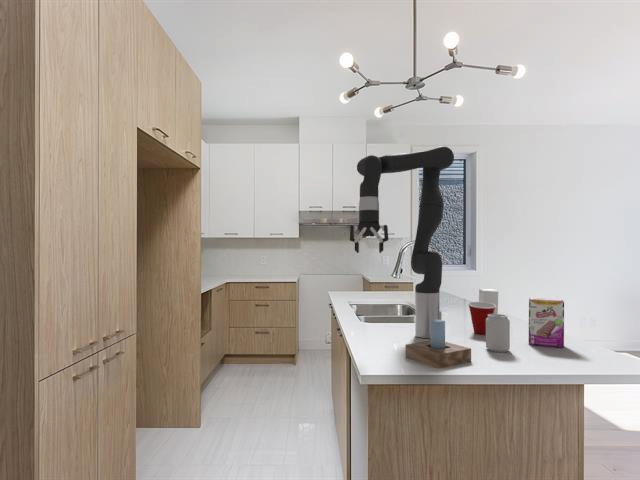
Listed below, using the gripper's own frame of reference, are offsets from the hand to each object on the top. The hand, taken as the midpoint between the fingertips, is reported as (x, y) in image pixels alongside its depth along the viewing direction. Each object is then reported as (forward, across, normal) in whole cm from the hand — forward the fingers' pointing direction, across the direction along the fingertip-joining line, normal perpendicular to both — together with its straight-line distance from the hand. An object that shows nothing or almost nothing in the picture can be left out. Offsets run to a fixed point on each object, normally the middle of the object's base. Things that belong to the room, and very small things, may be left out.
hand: (368, 252), depth 159 cm
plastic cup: (+33, -43, -24) cm, 59 cm away
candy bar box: (+33, -62, -8) cm, 71 cm away
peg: (+33, -24, +21) cm, 46 cm away
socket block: (+33, -24, +21) cm, 46 cm away
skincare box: (+33, -48, -46) cm, 74 cm away
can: (+33, -44, +4) cm, 55 cm away
